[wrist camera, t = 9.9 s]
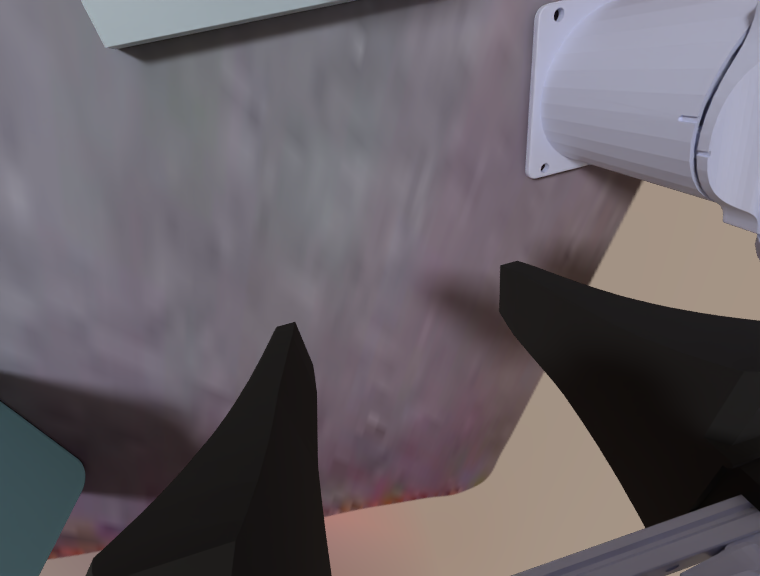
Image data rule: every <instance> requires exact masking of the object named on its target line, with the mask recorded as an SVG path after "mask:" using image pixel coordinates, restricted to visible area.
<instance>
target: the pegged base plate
mask: <svg viewBox="0 0 760 576" xmlns="http://www.w3.org/2000/svg"><path fill="white" fill-rule="evenodd" d="M351 1H356V0H81V2H82V4H83V6H84V8H85V9H86V11H87V13H88V15H89V17H90V19H91V21H92V23H93V25H94V27H95V29H96V31H97V33H98V34H99V36H100V38H101V40H102V42H103V44H104V46H105V48H112V49H120V48H125V47H130V46H135V45H140V44H145V43H150V42H155V41H160V40H165V39H170V38H174V37H179V36H184V35H189V34H194V33H199V32H204V31H209V30H214V29H219V28H224V27H228V26H233V25H238V24H243V23H248V22H253V21H258V20H263V19H268V18H273V17H278V16H282V15H287V14H292V13H297V12H302V11H307V10H312V9H317V8H322V7H327V6H332V5H336V4H341V3H346V2H351Z"/></svg>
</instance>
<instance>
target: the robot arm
mask: <svg viewBox="0 0 760 576" xmlns="http://www.w3.org/2000/svg"><path fill="white" fill-rule="evenodd" d="M556 10H558V11H559V16H558V19H557V21H555V20H554V13H555V11H556ZM543 164H545V167H544V169H543V170H541V166H542V165H543ZM590 164H591V165H594V166H598V167H601V168H604V169H608V170H611V171H614V172H617V173H621V174H624V175H627V176H631V177H634V178H637V179H641V180H644V181H647V182H650V183H654V184H657V185H660V186H664V187H667V188H670V189H673V190H677V191H680V192H683V193H687V194H690V195H693V196H696V197H700V198H703V199H706V200H710V201H713V202H716V203H718V204H719V205H720V206H721V208H722V210H723V222H724V223H727V224H731V225H733V226H736V227H739V228H742V229H745V230H748V231H751V232H753V233H756V234H757V238H756V243H755V247H756V253H757V256H758V258H759V260H760V0H563V1H558V2H553V3H549V4H545V5H543V6H541V7H540V8H539V10H538V11H537V13H536V16H535V21H534V38H533V54H532V70H531V87H530V103H529V119H528V136H527V152H526V168H525V172H526V175H527V176H528V177H530V178H532V179H536V178H540V177H543V176H547V175H551V174H555V173H559V172H563V171H567V170H571V169H575V168H579V167H582V166H586V165H590ZM499 312H500V314H501V315H502V317H503V319H504V320H505V322H506V324H507V325H508V327H509V328H510V330H511V331H512V333H513V334H514V336H515V337H516V338H517V339H518V340H519V342H520V343H521V344H522V345H523V346H524V348H525V349H526V350H527V351H528V352H529V354H530V355H531V356H532V357H533V358H534V359H535V361H536V362H537V363H538V364H539V365H540V366H541V368H542V369H543V370H544V371H545V372H546V373H547V375H548V376H549V377H550V378H551V379H552V380H553V382H554V383H555V384H556V385H557V387H558V388H559V389H560V391H561V392H562V393H563V394H564V396H565V397H566V399H567V400H568V402H569V403H570V404H571V406H572V407H573V409H574V410H575V412H576V413H577V415H578V416H579V418H580V419H581V420H582V422H583V423H584V425H585V427H586V428H587V430H588V431H589V433H590V434H591V436H592V437H593V439H594V441H595V442H596V444H597V445H598V447H599V448H600V450H601V451H602V453H603V455H604V457H605V458H606V460H607V461H608V463H609V465H610V466H611V468H612V470H613V471H614V473H615V475H616V476H617V478H618V480H619V481H620V483H621V485H622V487H623V488H624V490H625V492H626V494H627V495H628V497H629V499H630V501H631V503H632V504H633V506H634V508H635V510H636V511H637V513H638V515H639V517H640V519H641V521H642V522H643V524H644V526H645V529H642V530H639V531H637V532H634V533H631V534H628V535H625V536H622V537H620V538H617V539H614V540H611V541H608V542H605V543H603V544H600V545H597V546H594V547H591V548H588V549H585V550H583V551H580V552H577V553H574V554H571V555H568V556H566V557H563V558H560V559H557V560H554V561H551V562H549V563H546V564H543V565H540V566H537V567H534V568H532V569H529V570H526V571H523V572H520V573H517V574H515V575H512V576H666V575H669V574H671V573H674V572H677V571H680V570H682V569H685V568H688V567H690V566H693V565H696V564H698V565H696V566H694V567H692V568H690V569H688V570H686V571H685V572H682V573H681V574H680V576H760V321H757V320H748V319H740V318H732V317H725V316H717V315H711V314H704V313H698V312H692V311H687V310H681V309H676V308H670V307H666V306H661V305H656V304H652V303H647V302H644V301H639V300H635V299H631V298H627V297H624V296H620V295H616V294H613V293H610V292H606V291H603V290H600V289H597V288H593V287H590V286H587V285H584V284H581V283H579V282H576V281H573V280H570V279H567V278H564V277H562V276H559V275H556V274H554V273H551V272H548V271H545V270H543V269H540V268H537V267H534V266H532V265H529V264H526V263H523V262H519V261H515V262H511V263H508V264H504V265H500V302H499ZM699 563H700V564H699ZM86 576H331V568H330V561H329V554H328V546H327V539H326V531H325V524H324V515H323V507H322V499H321V489H320V480H319V471H318V442H317V390H316V382H315V375H314V368H313V364H312V361H311V359H310V356H309V354H308V352H307V349H306V347H305V344H304V342H303V340H302V337H301V335H300V332H299V330H298V328H297V325H296V323H295V322H293V323H289V324H286V325H282V326H278V327H277V328H276V329H275V331H274V333H273V335H272V337H271V339H270V341H269V343H268V345H267V347H266V349H265V351H264V353H263V355H262V357H261V359H260V361H259V363H258V364H257V366H256V368H255V370H254V372H253V374H252V375H251V377H250V379H249V381H248V382H247V384H246V386H245V387H244V389H243V391H242V392H241V394H240V396H239V397H238V399H237V400H236V402H235V404H234V405H233V407H232V408H231V410H230V411H229V413H228V414H227V416H226V417H225V418H224V420H223V421H222V422H221V424H220V425H219V427H218V428H217V429H216V431H215V432H214V433H213V434H212V436H211V437H210V438H209V439H208V441H207V442H206V443H205V444H204V445H203V447H202V448H201V449H200V450H199V451H198V453H197V454H196V455H195V456H194V457H193V459H192V460H191V461H190V462H189V463H188V465H187V466H186V467H185V468H184V469H183V470H182V471H181V473H180V474H179V475H178V476H177V477H176V478H175V479H174V480H173V481H172V482H171V483H170V484H169V486H168V487H167V488H166V489H165V490H164V491H163V492H162V493H161V494H160V495H159V496H158V497H157V498H156V499H155V500H154V501H153V502H152V503H151V504H150V505H149V506H148V507H147V508H146V509H145V510H144V511H143V512H142V513H141V514H140V515H139V516H138V517H137V518H136V519H135V520H134V521H133V522H132V523H131V524H129V525H128V526H127V527H126V528H125V529H124V530H123V531H122V532H121V533H120V534H119V535H118V536H117V537H116V538H115V539H114V540H113V541H111V542H110V543H109V544H108V545H107V546H106V547H105V548H104V549H103V550H102V551H101V552H100V553H98V554H97V555H96V556H95V557H94V558H93V560H92V563H91V565H90V567H89V569H88V572H87V574H86Z"/></svg>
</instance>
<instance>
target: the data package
mask: <svg viewBox="0 0 760 576" xmlns="http://www.w3.org/2000/svg"><path fill="white" fill-rule="evenodd" d="M84 484H85V470H84V467H83V464H82V463H81V461H80V460H79V459H77V458H76V457H75V456H73V455H72V454H71V453H69V452H68V451H67V450H65V449H64V448H63V447H61V446H60V445H59V444H57V443H56V442H55V441H53V440H52V439H51V438H49V437H48V436H47V435H45V434H44V433H42V432H41V431H40V430H38V429H37V428H36V427H34V426H33V425H32V424H30V423H29V422H28V421H26V420H25V419H24V418H22V417H21V416H20V415H18V414H17V413H16V412H14V411H13V410H12V409H10V408H9V407H7V406H6V405H5V404H3V403H2V402H1V401H0V576H39V574H40V573H41V570H42V569H43V566H44V564H45V563H46V561H47V559H48V557H49V555H50V553H51V551H52V549H53V547H54V545H55V543H56V541H57V539H58V537H59V535H60V533H61V531H62V529H63V527H64V525H65V523H66V521H67V519H68V518H69V516H70V514H71V512H72V510H73V508H74V506H75V504H76V502H77V500H78V498H79V496H80V494H81V492H82V490H83V487H84Z"/></svg>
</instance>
